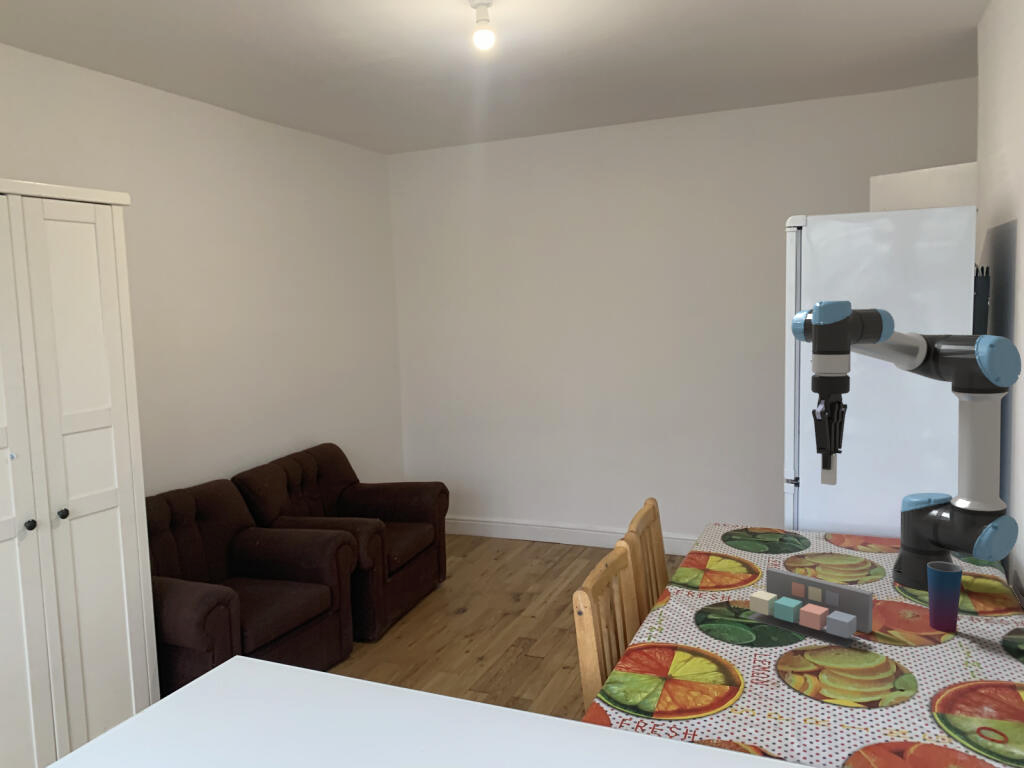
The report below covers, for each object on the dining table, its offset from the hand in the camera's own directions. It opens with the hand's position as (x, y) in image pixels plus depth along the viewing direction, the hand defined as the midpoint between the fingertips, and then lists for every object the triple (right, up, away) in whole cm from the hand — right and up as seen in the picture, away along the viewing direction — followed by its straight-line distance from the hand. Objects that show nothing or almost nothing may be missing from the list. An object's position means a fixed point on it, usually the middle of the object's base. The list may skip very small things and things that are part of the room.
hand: (828, 483), depth 163 cm
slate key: (+3, -32, +1) cm, 32 cm away
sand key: (-9, -31, +14) cm, 35 cm away
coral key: (-1, -32, +5) cm, 32 cm away
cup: (+28, -34, +6) cm, 44 cm away
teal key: (-5, -31, +9) cm, 33 cm away
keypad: (-2, -34, +9) cm, 35 cm away
